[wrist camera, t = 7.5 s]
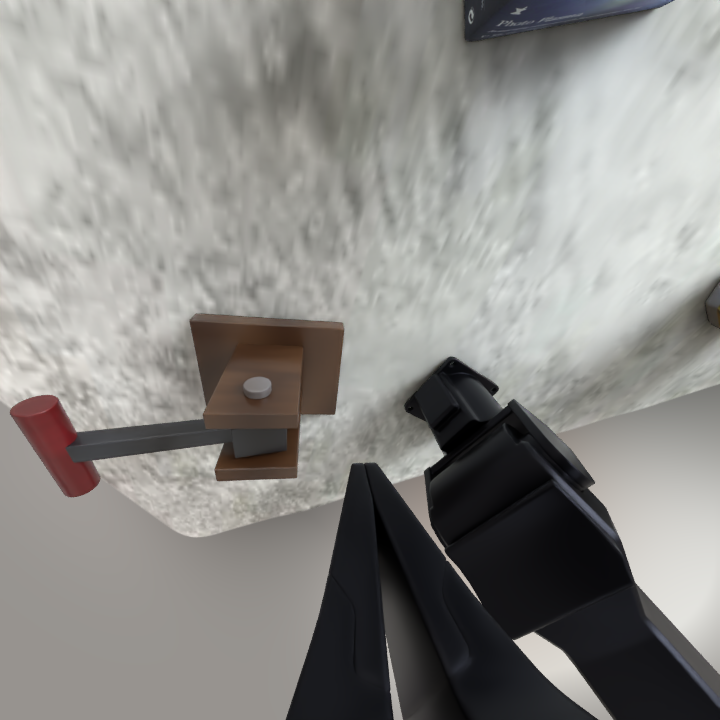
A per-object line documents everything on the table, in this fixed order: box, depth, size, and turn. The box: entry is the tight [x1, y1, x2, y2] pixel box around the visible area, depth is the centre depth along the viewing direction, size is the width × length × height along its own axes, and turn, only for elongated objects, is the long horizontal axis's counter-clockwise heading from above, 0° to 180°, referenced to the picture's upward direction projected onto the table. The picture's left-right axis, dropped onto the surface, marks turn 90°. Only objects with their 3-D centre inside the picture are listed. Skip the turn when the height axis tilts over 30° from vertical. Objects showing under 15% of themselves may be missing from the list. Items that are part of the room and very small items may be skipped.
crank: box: [10, 395, 287, 497], centre depth 15 cm, size 11×6×2 cm, turn 83°
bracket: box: [190, 314, 344, 481], centre depth 18 cm, size 10×8×8 cm
